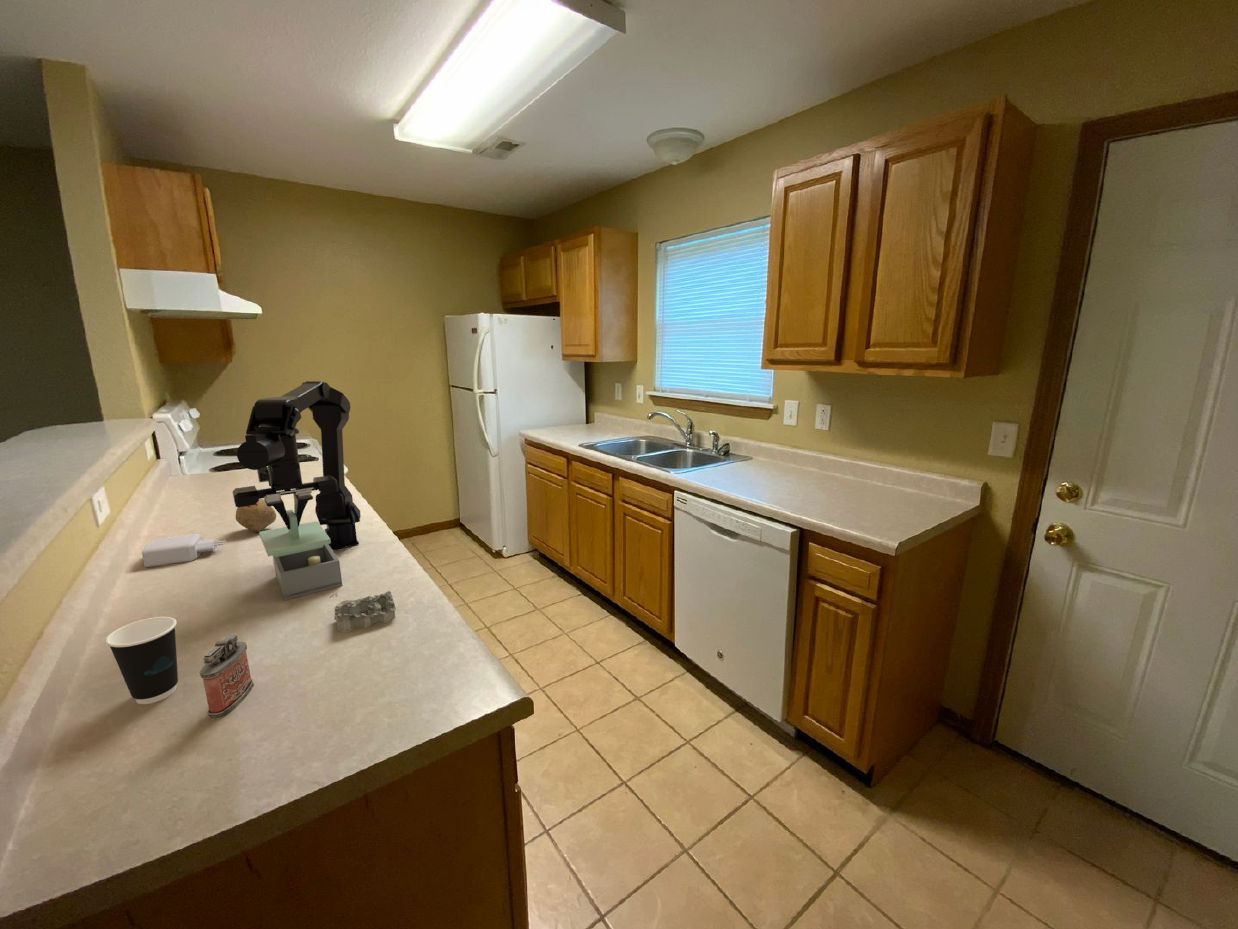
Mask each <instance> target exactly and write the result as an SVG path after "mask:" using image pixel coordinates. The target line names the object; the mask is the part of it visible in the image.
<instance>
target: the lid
mask: <svg viewBox="0 0 1238 929" xmlns="http://www.w3.org/2000/svg"><path fill="white" fill-rule="evenodd" d="M286 512H287V516H288V519H289V523H290V529H288V528H287V526H283V527H278V528H272V529H266V530H262V531H260V532H258V534H259V538H260V540H261V542H262V544H263V547H264V549H265V552H266V554H267V557H271V556H272V557H273V555H275V557H280V556H285V555H289V554H294V553H299V552H303V551H308V550H313V549H317V548H322V547H323V545H325V544H330V543H331V540H330V538H329V536H328V535H327V534H326V532H325V529H324V528H323V527H322V525H320V523H319V521H317V520H315V521H309V522H305V523H300V524H299V527H298V523H297V517H296V515H295V513H294V511H293V509H287V510H286Z"/></svg>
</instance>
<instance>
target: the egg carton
mask: <svg viewBox="0 0 1238 929" xmlns="http://www.w3.org/2000/svg"><path fill="white" fill-rule="evenodd" d="M382 608H386V612H385V611H382ZM333 609H334V621H336V628H337V632H344V633H349V632H353V630H354V629H356V628H359V627H361V628H365V629H367V628H369V627H372V625H373V624H375V623H384V624H386V623H390V622H391V621H392V619H395V618H396V612H395V611H396V605H395V600H394V597H393V595H392V592H391V590H387V591H386V592H384V593H380V594H378V595H374V596H373V597H372V596H370V595H368V596H366V597H363V598H357V599H349V600H347V599H346V600H343V601H341V602H339V603H338V604H337V605H336V606H334V608H333ZM363 612H368V615H367V614H366V613H363Z"/></svg>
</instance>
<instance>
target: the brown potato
mask: <svg viewBox="0 0 1238 929" xmlns="http://www.w3.org/2000/svg"><path fill="white" fill-rule="evenodd" d="M274 509H275V508H274V507H273V506H267V505H266V503H265V501H264V498H261V499H259V501H258V502H257V503H256V504H255V505H251V506H245V507H236V511H235V520H236V521H237V523H238V524H239V525H240V526H242V527H244V528H245V529H247V530H249V531H250V532H253V533H259V532H261V531H265V529H266V528H267V527H269V526H271V525H272V524H274V523H275V521H276V519H277V513H276V512H277V511H276V510H274Z"/></svg>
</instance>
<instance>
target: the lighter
mask: <svg viewBox="0 0 1238 929" xmlns="http://www.w3.org/2000/svg"><path fill="white" fill-rule="evenodd" d="M247 648H248V645H247V642H245V641H239V640H238V635H237V633H231V634H228V635H227V636H226V637H224V638H223V639H217V641H215V643H214V646H213V647H212V648H210V649H209V650H208V652H206V653H205V654H204V656H203V657H202V658H203V661H204V665H203V667H201V669H200V670H199V676H200V679H202V682H203V687H204V691H205V697H206V701H207V706H208V710H207V714H208V718H209V719H210V720H219V719H222V718H224V717H226V716H228V715H229V714H230V713H232V711H234V710H236V709H237V707H239V706H240V705H241V704H242V703H243V702H244V701H245V699H246V698H247V697H248V696H249V694H250V693H251V692H252V690H253V688H254V687H255V686H254V685H255V684H254V680H253V679H252V677H251V670H250V664H249V660H248V654H247Z"/></svg>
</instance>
